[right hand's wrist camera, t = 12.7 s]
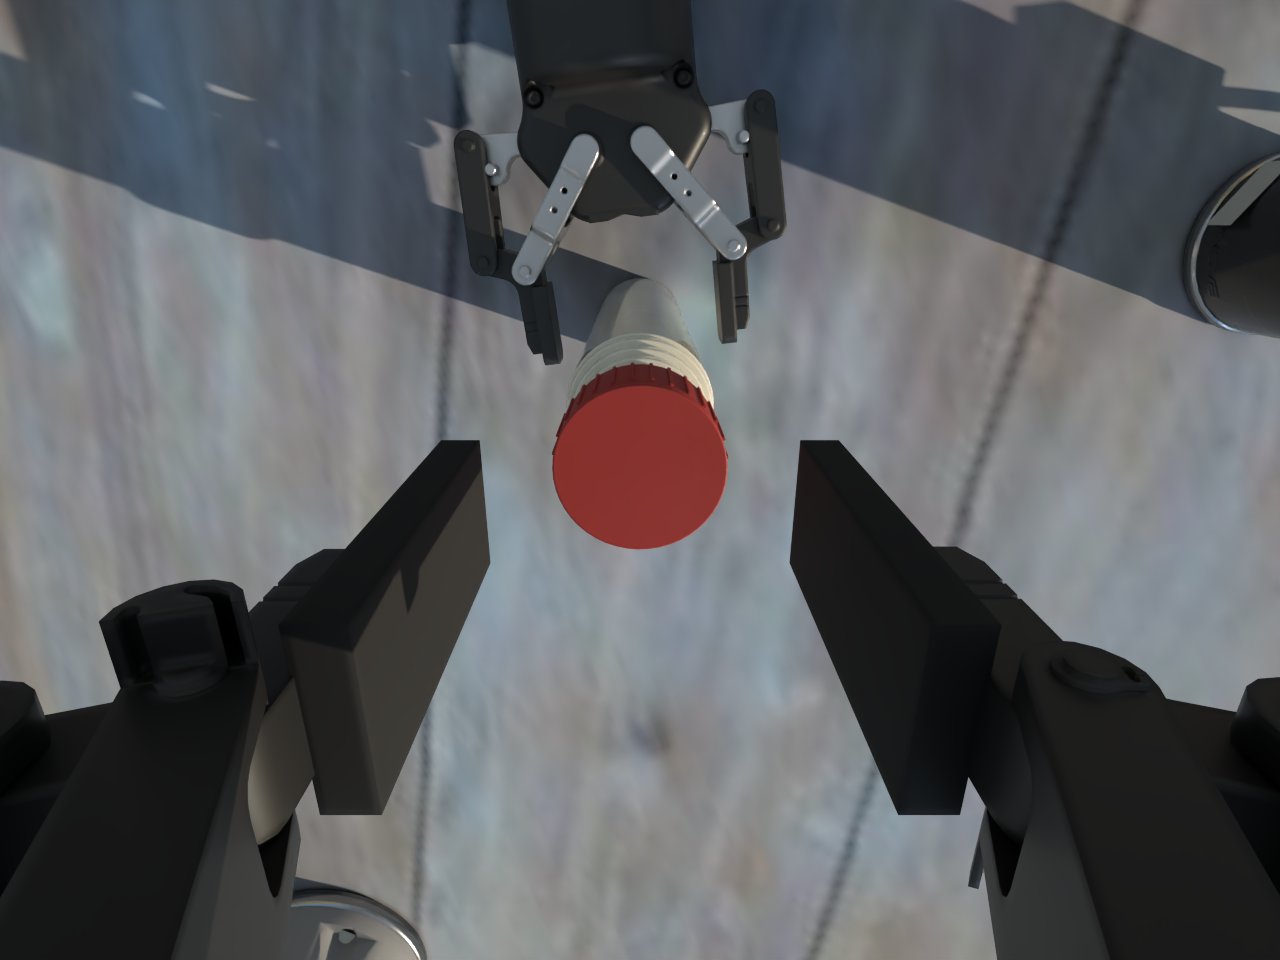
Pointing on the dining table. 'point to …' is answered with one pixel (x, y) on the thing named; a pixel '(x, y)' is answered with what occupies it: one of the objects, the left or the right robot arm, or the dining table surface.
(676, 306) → the bottle
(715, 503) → the cap
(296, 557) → the dining table surface
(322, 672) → the right robot arm
